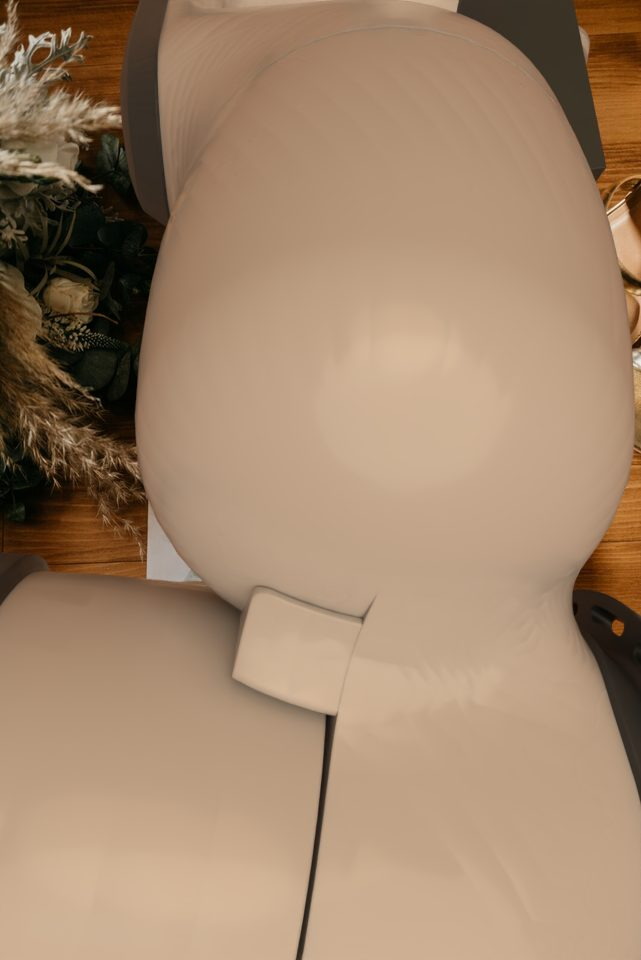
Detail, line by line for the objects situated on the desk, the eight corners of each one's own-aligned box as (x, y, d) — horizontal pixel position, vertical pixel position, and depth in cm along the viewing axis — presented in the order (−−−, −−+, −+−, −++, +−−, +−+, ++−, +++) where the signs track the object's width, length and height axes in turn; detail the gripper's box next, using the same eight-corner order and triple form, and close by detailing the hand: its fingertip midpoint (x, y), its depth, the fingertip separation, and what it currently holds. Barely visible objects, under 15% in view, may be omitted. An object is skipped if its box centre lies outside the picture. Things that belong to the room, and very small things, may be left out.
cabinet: (418, 316, 82) (472, 187, 53) (395, 183, 83) (436, -15, 54) (504, 303, 82) (607, 167, 53) (480, 171, 83) (567, -33, 54)
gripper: (315, -152, 48) (318, 2, 61) (362, 141, 46) (355, 231, 60) (409, -166, 48) (391, -9, 61) (459, 126, 46) (430, 220, 60)
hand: (373, 111), depth 61 cm, fingers closed
